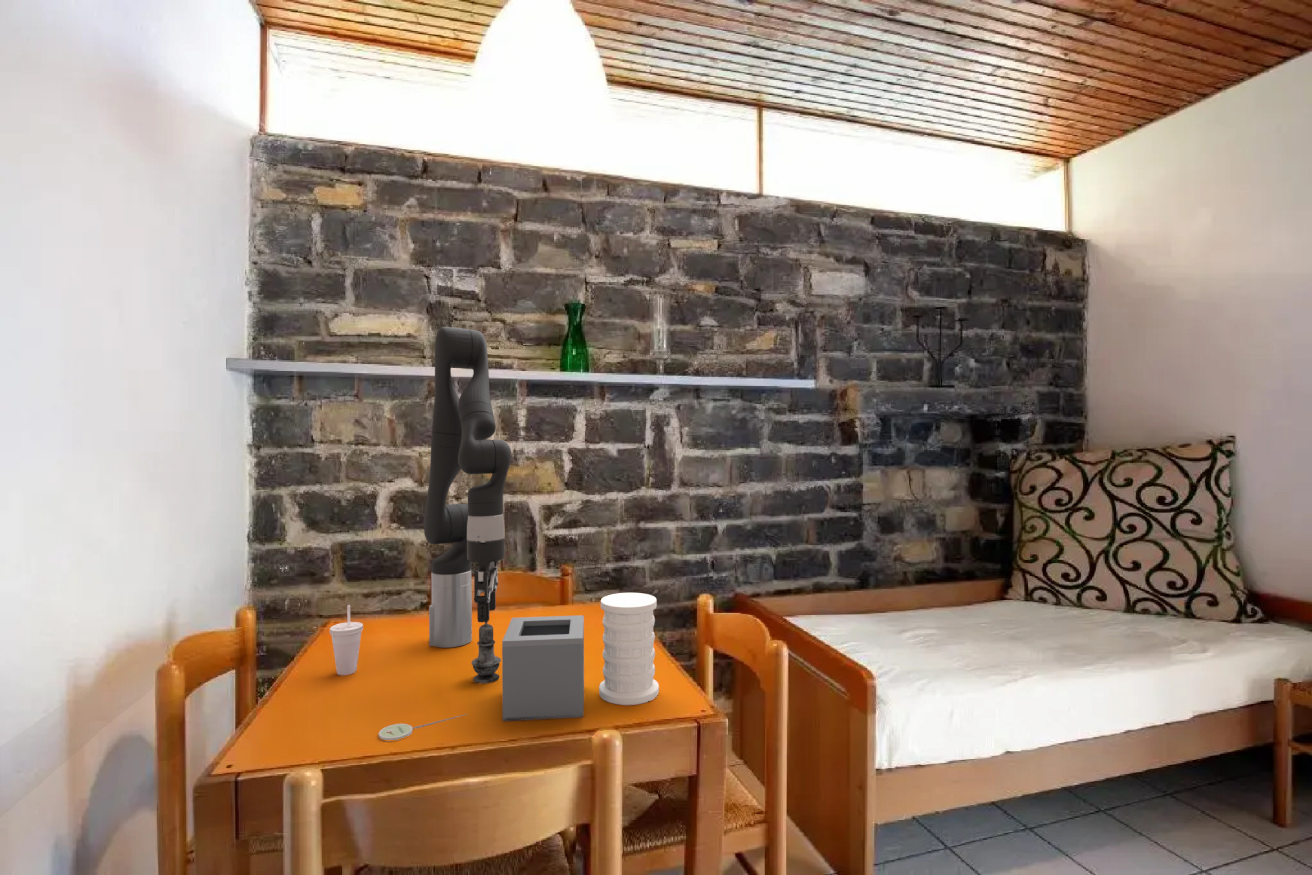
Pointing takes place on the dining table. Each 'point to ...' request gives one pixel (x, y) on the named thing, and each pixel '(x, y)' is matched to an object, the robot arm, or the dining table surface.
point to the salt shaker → (486, 657)
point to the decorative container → (628, 649)
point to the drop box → (543, 668)
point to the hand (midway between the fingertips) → (486, 615)
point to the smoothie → (346, 645)
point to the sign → (400, 730)
